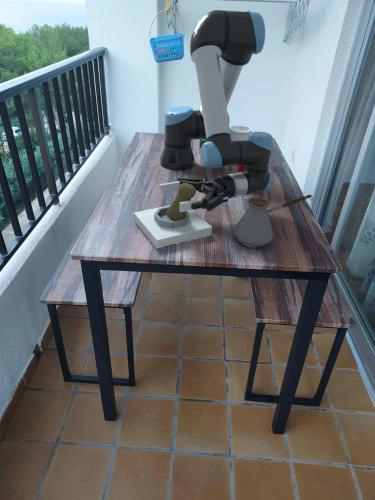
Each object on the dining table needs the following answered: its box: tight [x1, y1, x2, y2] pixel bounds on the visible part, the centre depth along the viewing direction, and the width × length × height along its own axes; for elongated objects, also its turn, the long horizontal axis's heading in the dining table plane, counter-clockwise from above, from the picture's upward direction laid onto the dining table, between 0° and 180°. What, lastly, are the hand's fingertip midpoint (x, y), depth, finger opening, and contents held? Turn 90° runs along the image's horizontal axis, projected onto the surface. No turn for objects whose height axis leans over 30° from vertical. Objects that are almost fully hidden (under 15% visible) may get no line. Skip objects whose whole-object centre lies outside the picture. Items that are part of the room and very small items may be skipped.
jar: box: [229, 125, 253, 141], centre depth 160 cm, size 11×10×15 cm
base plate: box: [133, 204, 213, 250], centre depth 111 cm, size 18×18×5 cm
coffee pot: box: [233, 194, 314, 248], centre depth 104 cm, size 21×12×15 cm, turn 96°
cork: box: [166, 183, 197, 221], centre depth 106 cm, size 6×6×11 cm
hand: (169, 197), depth 106 cm, fingers open, 13 cm apart
